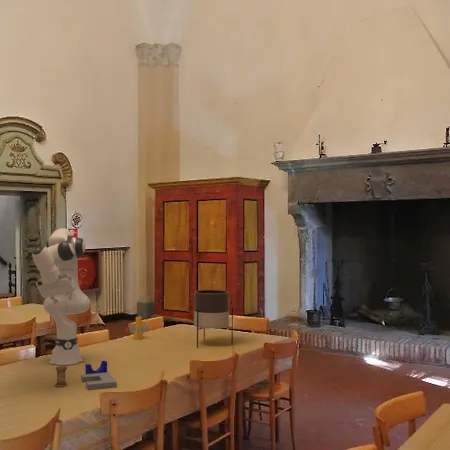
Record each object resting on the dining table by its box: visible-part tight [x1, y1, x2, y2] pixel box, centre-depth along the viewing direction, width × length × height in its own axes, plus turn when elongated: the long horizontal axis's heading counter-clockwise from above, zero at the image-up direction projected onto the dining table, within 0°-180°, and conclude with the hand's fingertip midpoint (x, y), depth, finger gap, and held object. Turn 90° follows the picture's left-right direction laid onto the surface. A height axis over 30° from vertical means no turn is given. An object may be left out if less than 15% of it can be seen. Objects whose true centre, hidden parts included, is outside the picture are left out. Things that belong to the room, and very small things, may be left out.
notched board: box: [80, 371, 118, 391], centre depth 297 cm, size 20×14×2 cm
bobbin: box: [54, 365, 68, 388], centre depth 292 cm, size 6×6×9 cm
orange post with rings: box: [129, 316, 148, 340], centre depth 412 cm, size 12×10×15 cm
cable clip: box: [84, 360, 108, 374], centre depth 315 cm, size 12×4×6 cm, turn 140°
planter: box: [193, 289, 234, 349], centre depth 393 cm, size 26×25×35 cm
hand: (64, 301), depth 297 cm, fingers open, 8 cm apart
